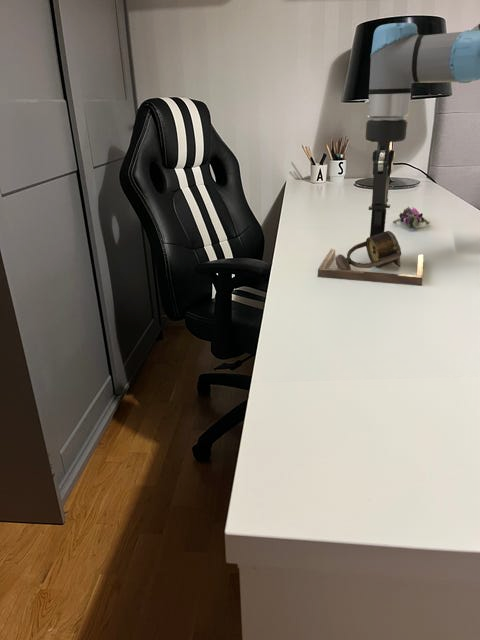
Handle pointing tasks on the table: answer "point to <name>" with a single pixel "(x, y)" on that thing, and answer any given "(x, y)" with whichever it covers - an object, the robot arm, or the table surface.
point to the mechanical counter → (374, 252)
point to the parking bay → (370, 273)
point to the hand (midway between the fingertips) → (376, 240)
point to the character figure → (411, 217)
